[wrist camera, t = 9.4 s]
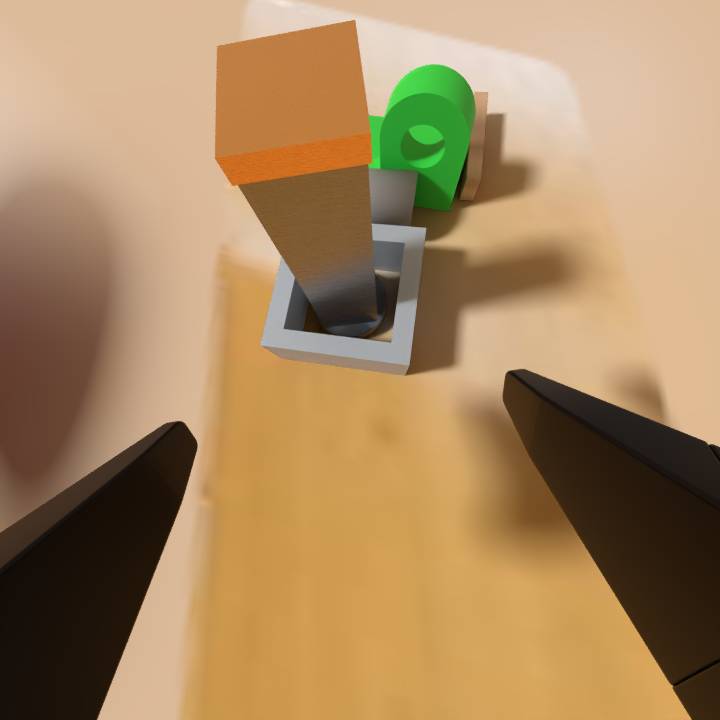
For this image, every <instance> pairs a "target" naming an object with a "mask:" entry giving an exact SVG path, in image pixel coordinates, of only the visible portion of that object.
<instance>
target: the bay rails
mask: <svg viewBox="0 0 720 720" xmlns="http://www.w3.org/2000/svg"><path fill="white" fill-rule="evenodd" d="M474 99H475V106H476V115H475V121H474V125H473V130H472V134H471V138H470V143H469V147H468V151H467V154H466V157H465V161H464V164H463V170H462V180H461V190H460V200H470V201H473V199H474V196H475V194H476V191H477V188H478V186H479V183H480V181H481V177H482V164H483V152H484V139H485V127H486V114H487V102H488V92H475V94H474Z"/></svg>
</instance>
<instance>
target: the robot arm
mask: <svg viewBox="0 0 720 720" xmlns="http://www.w3.org/2000/svg"><path fill="white" fill-rule="evenodd" d="M503 401H504V404H505V406H506V409H507V411H508V413H509V415H510V417H511V419H512V421H513V423H514V425H515V428H516V430H517V432H518V434H519V436H520V438H521V440H522V442H523V444H524V446H525V448H526V450H527V452H528V454H529V456H530V458H531V459H532V461H533V463H534V464H535V466H536V468H537V469H538V471H539V472H540V474H541V476H542V477H543V479H544V481H545V482H546V484H547V485H548V487H549V489H550V490H551V492H552V494H553V495H554V497H555V498H556V500H557V502H558V503H559V505H560V506H561V508H562V510H563V511H564V513H565V515H566V516H567V518H568V519H569V521H570V523H571V524H572V526H573V528H574V529H575V531H576V532H577V534H578V536H579V537H580V539H581V540H582V542H583V544H584V545H585V547H586V549H587V550H588V552H589V553H590V555H591V557H592V558H593V560H594V562H595V563H596V565H597V566H598V568H599V570H600V571H601V573H602V574H603V576H604V578H605V579H606V581H607V583H608V584H609V586H610V587H611V589H612V591H613V592H614V594H615V596H616V597H617V599H618V600H619V602H620V604H621V605H622V607H623V608H624V610H625V612H626V613H627V615H628V617H629V618H630V620H631V621H632V623H633V625H634V626H635V628H636V629H637V631H638V633H639V634H640V636H641V638H642V639H643V641H644V642H645V644H646V646H647V647H648V649H649V651H650V652H651V654H652V655H653V657H654V659H655V660H656V662H657V663H658V665H659V667H660V668H661V670H662V672H663V673H664V675H665V676H666V678H667V680H668V681H669V683H670V684H671V685H673V690H674V692H675V693H676V695H677V696H678V698H679V700H680V701H681V703H682V705H683V706H684V708H685V709H686V711H687V713H688V714H689V716H690V717H691V719H692V720H720V447H718V446H716V445H713V444H710V445H708V444H707V443H706V442H705V441H703V440H700V439H698V438H695V437H692V436H690V435H688V434H685V433H683V432H680V431H678V430H675V429H673V428H670V427H668V426H665V425H663V424H660V423H658V422H655V421H653V420H650V419H648V418H645V417H643V416H640V415H638V414H635V413H633V412H630V411H628V410H625V409H623V408H620V407H618V406H616V405H613V404H611V403H608V402H606V401H603V400H601V399H598V398H596V397H593V396H591V395H588V394H586V393H583V392H581V391H578V390H576V389H573V388H571V387H568V386H566V385H563V384H561V383H558V382H556V381H553V380H551V379H548V378H546V377H543V376H541V375H538V374H536V373H533V372H531V371H528V370H526V369H518V370H511V371H508V372H507V373H506V375H505V381H504V389H503ZM197 446H198V445H197V441H196V439H195V437H194V436H193V434H192V433H191V432H190V430H189V429H188V427H187V426H186V424H185V423H184V422H181V421H176V422H169V423H166V424H164V425H162V426H161V427H159V428H158V429H156V430H155V431H153V432H152V433H150V434H149V435H147V436H146V437H144V438H143V439H141V440H140V441H138V442H137V443H135V444H134V445H132V446H130V447H129V448H127V449H126V450H124V451H123V452H121V453H120V454H118V455H117V456H115V457H114V458H112V459H111V460H110V461H108V462H106V463H105V464H103V465H102V466H101V467H99V468H97V469H96V470H94V471H93V472H91V473H90V474H88V475H87V476H85V477H84V478H82V479H81V480H79V481H78V482H76V483H75V484H73V485H72V486H70V487H69V488H67V489H66V490H64V491H63V492H61V493H60V494H58V495H57V496H55V497H54V498H52V499H51V500H49V501H48V502H46V503H45V504H43V505H42V506H40V507H39V508H37V509H35V510H34V511H33V512H31V513H30V514H28V515H27V516H25V517H24V518H22V519H20V520H19V521H18V522H16V523H15V524H13V525H12V526H10V527H8V528H7V529H5V530H4V531H2V532H1V533H0V720H97V719H98V716H99V714H100V711H101V708H102V706H103V703H104V701H105V698H106V696H107V693H108V691H109V688H110V685H111V683H112V680H113V678H114V675H115V673H116V670H117V667H118V665H119V662H120V660H121V657H122V655H123V652H124V649H125V647H126V644H127V642H128V639H129V636H130V634H131V632H132V629H133V626H134V624H135V621H136V619H137V616H138V614H139V611H140V609H141V606H142V603H143V601H144V598H145V596H146V593H147V591H148V588H149V586H150V583H151V580H152V578H153V575H154V573H155V570H156V567H157V565H158V562H159V560H160V557H161V555H162V552H163V550H164V547H165V545H166V542H167V539H168V537H169V534H170V532H171V529H172V527H173V524H174V521H175V519H176V516H177V514H178V511H179V509H180V506H181V503H182V500H183V497H184V494H185V490H186V487H187V483H188V480H189V476H190V473H191V469H192V466H193V462H194V459H195V455H196V452H197Z"/></svg>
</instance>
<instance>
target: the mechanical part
mask: <svg viewBox="0 0 720 720" xmlns="http://www.w3.org/2000/svg"><path fill="white" fill-rule="evenodd" d="M475 115H476V106H475V99H474V95H473V92H472V90H471V88H470V86H469V84H468V83H467V81H466V80H465V79H464V78H463V77H462V76H461V75H460V74H459V73H458V72H456V71H455V70H453V69H451V68H449V67H446V66H443V65H426V66H422V67H419V68H417V69H415V70H413V71H411V72H410V73H408V74H407V75H406V76H405V77H403V78H402V79H401V81H400V82H399V83H398V84H397V86H396V87H395V89H394V91H393V93H392V95H391V97H390V100H389V103H388V107H387V110H386V113H385V116H384V117H378V116H370V115H369V122H370V129H371V146H372V164H368V168H379V169H398V170H417V171H418V176H417V184H416V191H415V199H414V206H418V207H424V208H430V209H436V210H443V211H449V210H450V207H451V204H452V200H453V197H454V194H455V190H456V187H457V184H458V181H459V177H460V174H461V171H462V167H463V164H464V161H465V157H466V154H467V151H468V147H469V143H470V138H471V134H472V130H473V125H474V121H475Z"/></svg>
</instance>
